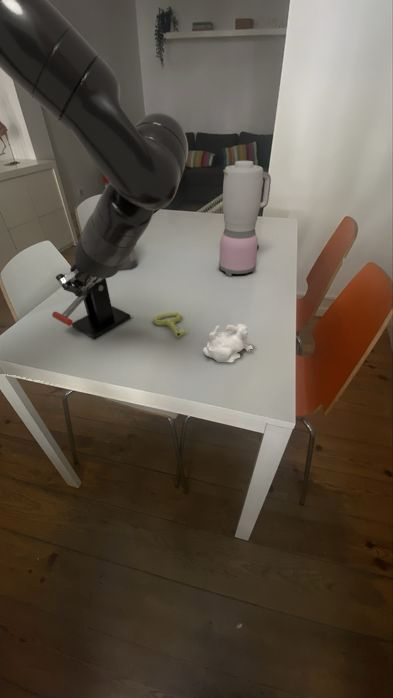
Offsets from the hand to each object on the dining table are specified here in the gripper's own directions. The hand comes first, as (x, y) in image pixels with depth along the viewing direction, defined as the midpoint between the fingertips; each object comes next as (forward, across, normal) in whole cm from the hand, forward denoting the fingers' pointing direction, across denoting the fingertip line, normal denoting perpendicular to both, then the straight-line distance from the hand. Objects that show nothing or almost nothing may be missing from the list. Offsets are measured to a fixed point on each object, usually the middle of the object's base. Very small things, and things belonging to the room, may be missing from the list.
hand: (78, 292), depth 63 cm
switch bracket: (+19, -10, +4) cm, 22 cm away
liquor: (+36, -38, -12) cm, 54 cm away
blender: (+11, -60, +13) cm, 63 cm away
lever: (+13, -6, -1) cm, 15 cm away
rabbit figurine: (-6, -18, +29) cm, 35 cm away
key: (+8, -20, +16) cm, 26 cm away
